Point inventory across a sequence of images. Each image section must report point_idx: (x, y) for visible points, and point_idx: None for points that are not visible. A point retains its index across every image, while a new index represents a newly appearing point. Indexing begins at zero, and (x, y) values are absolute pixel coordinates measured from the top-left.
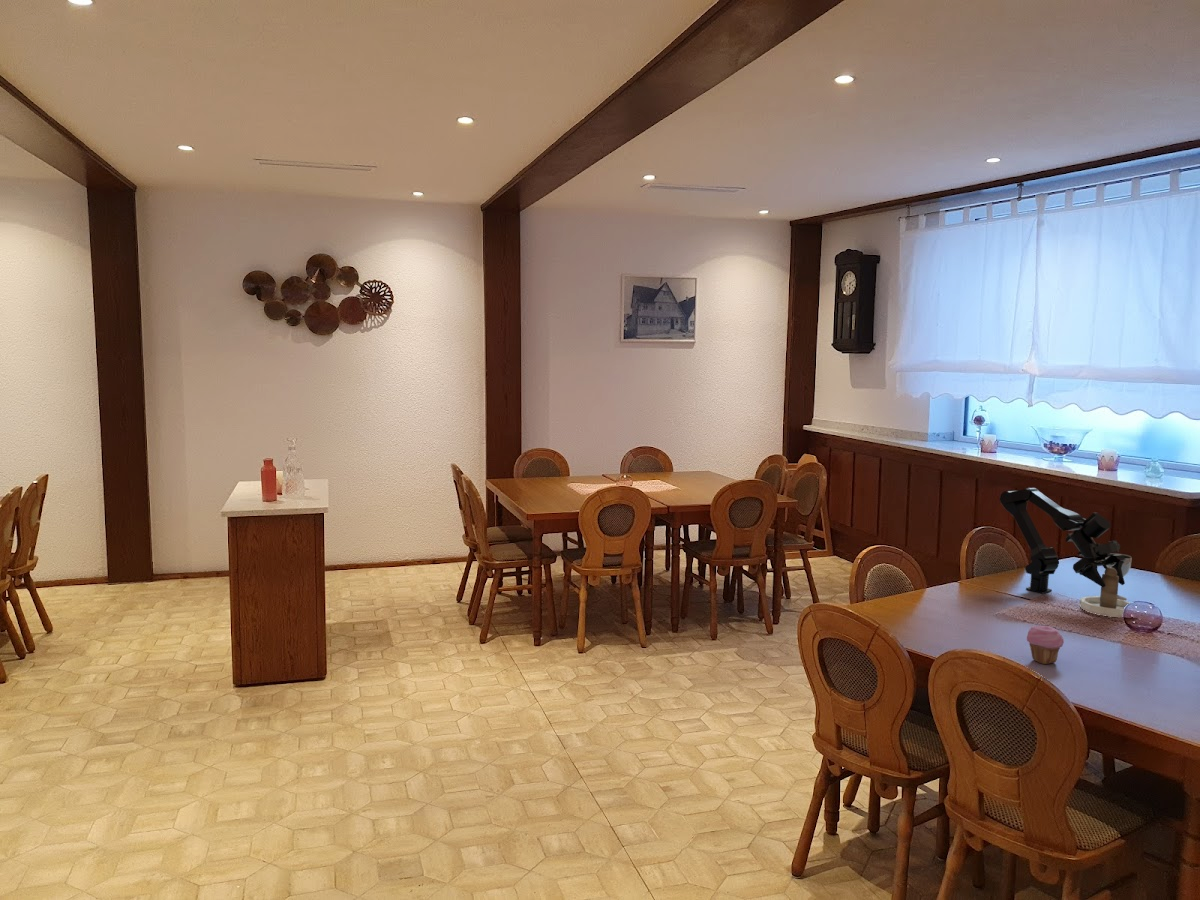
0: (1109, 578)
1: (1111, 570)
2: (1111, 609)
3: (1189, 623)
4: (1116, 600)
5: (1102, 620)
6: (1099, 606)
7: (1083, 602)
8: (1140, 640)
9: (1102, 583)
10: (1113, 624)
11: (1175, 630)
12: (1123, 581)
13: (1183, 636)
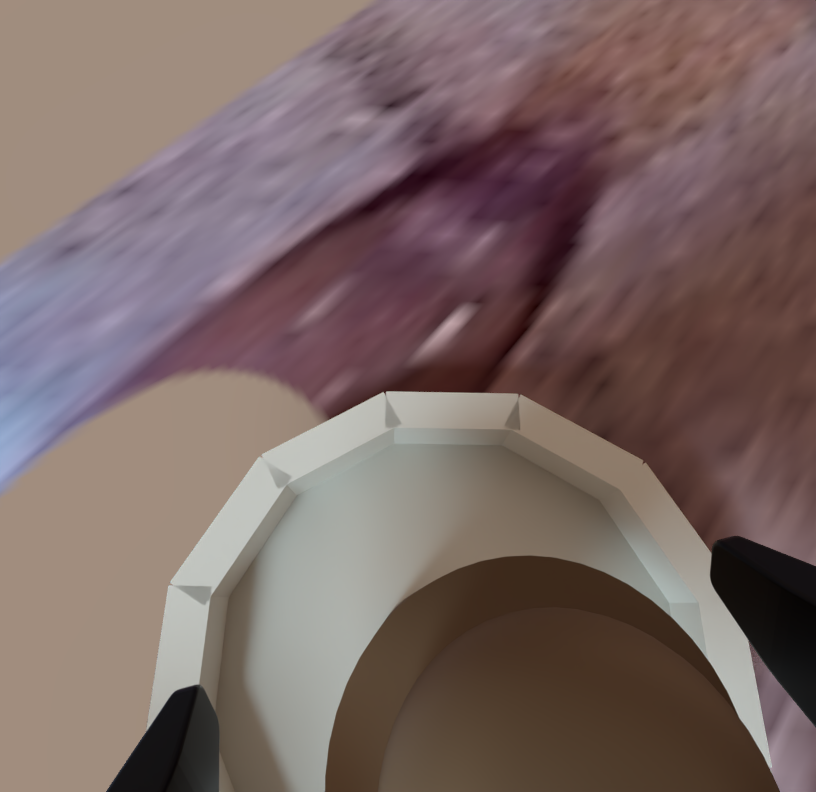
0: (655, 612)
1: (687, 686)
2: (588, 433)
3: (11, 261)
4: (411, 594)
5: (691, 386)
6: (666, 532)
7: (764, 734)
8: (681, 26)
9: (790, 570)
10: (661, 289)
11: (290, 144)
12: (183, 714)
13: (348, 54)
